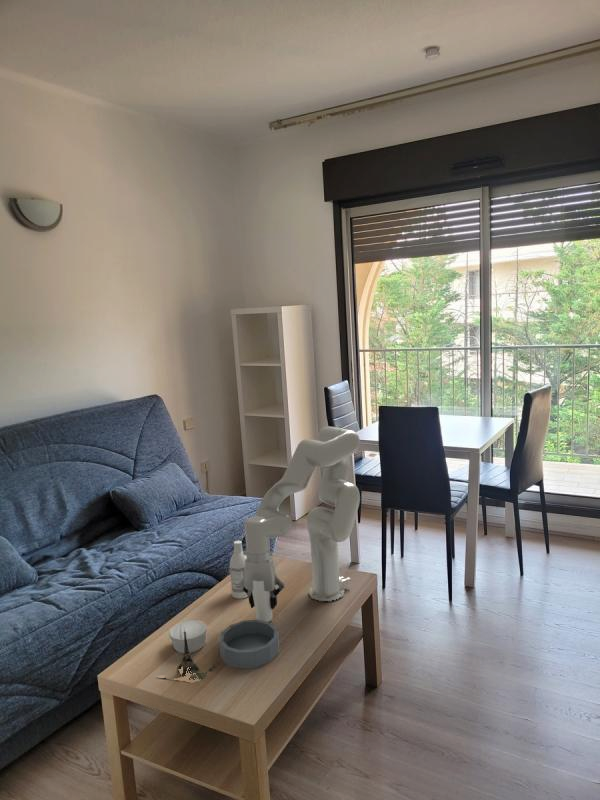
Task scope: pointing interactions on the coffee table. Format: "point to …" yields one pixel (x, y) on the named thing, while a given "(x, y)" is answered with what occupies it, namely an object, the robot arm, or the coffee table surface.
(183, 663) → the eiffel tower figurine
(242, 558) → the bath foam
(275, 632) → the bowl
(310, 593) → the robot arm
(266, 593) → the drinking glass
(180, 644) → the ramekin
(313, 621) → the coffee table surface
